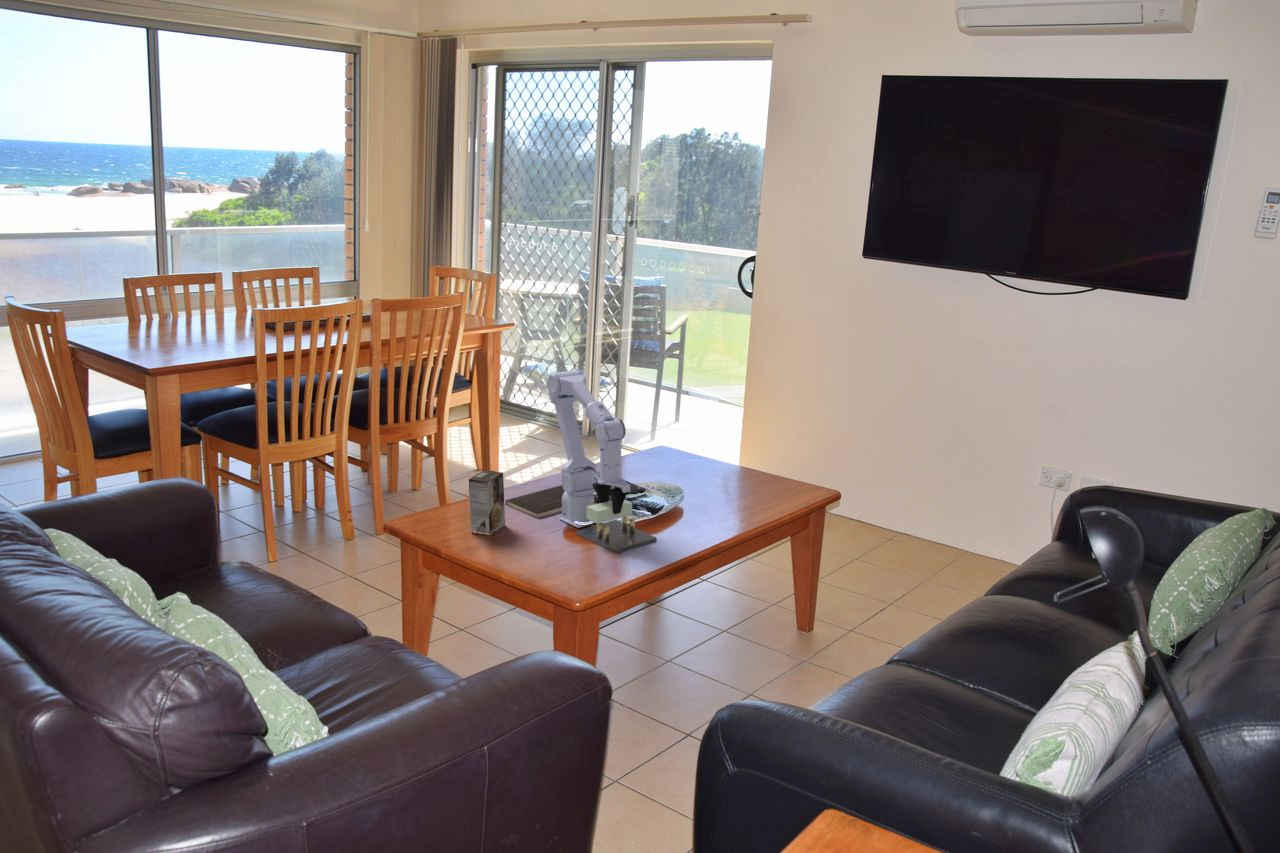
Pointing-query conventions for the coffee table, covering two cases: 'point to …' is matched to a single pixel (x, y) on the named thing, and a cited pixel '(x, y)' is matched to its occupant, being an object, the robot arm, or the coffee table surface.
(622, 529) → the plate
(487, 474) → the coffee box
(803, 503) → the coffee table surface
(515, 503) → the hardcover book
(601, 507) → the pale green block
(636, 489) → the disk drive
